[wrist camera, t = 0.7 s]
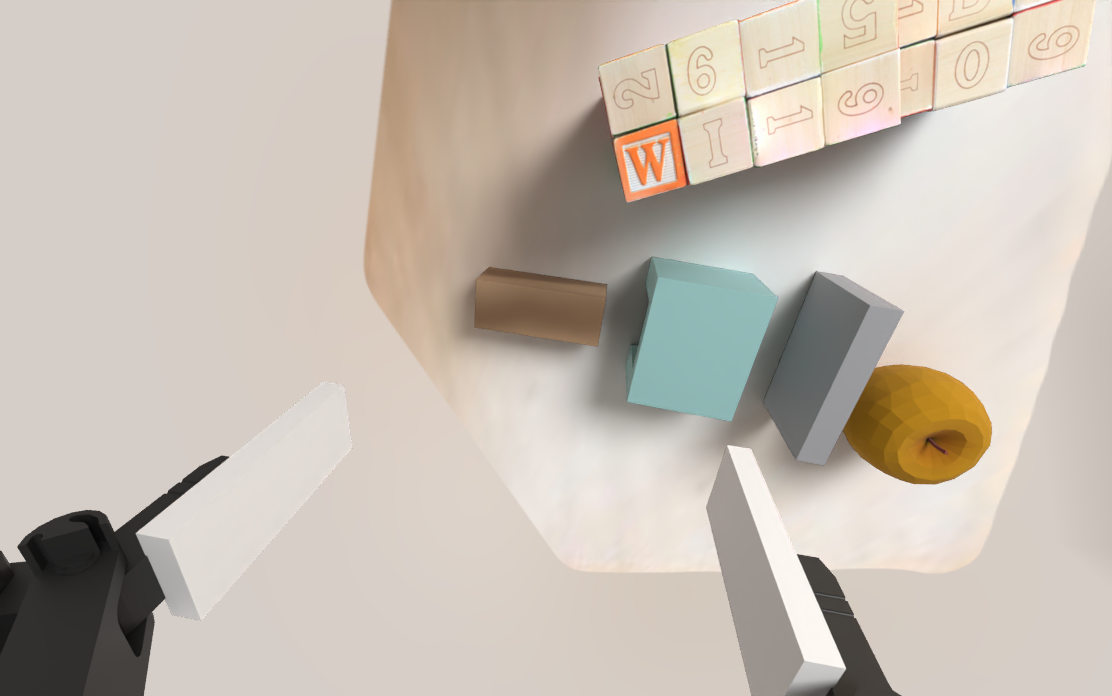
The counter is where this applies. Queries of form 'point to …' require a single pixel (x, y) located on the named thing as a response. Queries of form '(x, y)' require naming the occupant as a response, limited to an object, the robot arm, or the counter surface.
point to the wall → (828, 363)
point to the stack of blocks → (821, 79)
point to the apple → (918, 425)
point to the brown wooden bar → (540, 306)
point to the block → (697, 338)
